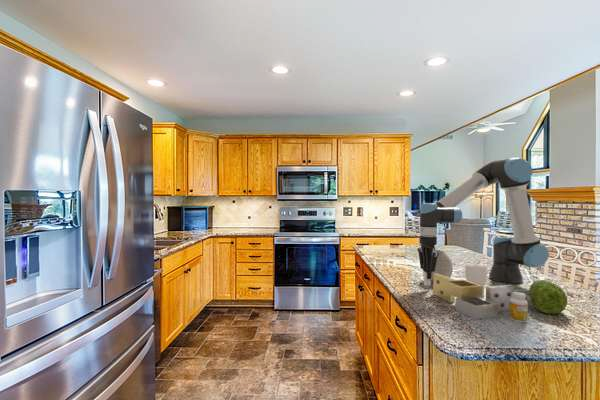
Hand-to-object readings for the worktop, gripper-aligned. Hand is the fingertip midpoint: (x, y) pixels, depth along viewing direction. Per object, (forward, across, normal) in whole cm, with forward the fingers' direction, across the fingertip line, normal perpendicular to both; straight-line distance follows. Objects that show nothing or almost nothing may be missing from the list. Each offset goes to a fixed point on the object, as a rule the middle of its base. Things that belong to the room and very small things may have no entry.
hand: (427, 285), depth 148 cm
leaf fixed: (+2, +29, +6) cm, 30 cm away
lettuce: (+3, +31, +32) cm, 45 cm away
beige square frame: (+2, +16, 0) cm, 17 cm away
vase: (+3, -12, +16) cm, 20 cm away
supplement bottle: (+3, +38, +10) cm, 39 cm away
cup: (+3, +6, +22) cm, 23 cm away
